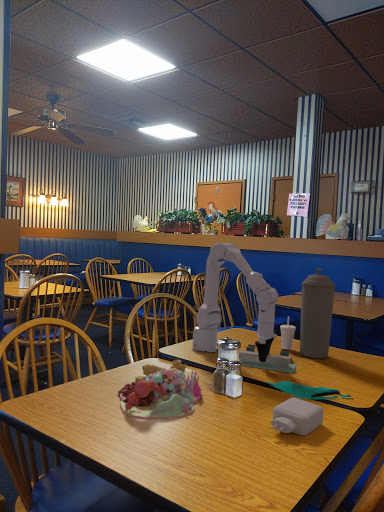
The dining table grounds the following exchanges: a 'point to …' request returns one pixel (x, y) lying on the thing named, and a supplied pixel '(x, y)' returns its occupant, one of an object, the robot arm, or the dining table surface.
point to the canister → (316, 315)
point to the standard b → (285, 353)
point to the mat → (270, 367)
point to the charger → (297, 416)
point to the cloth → (305, 390)
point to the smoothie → (287, 335)
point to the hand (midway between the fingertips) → (263, 358)
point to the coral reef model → (161, 393)
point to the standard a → (251, 348)
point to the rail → (270, 361)
